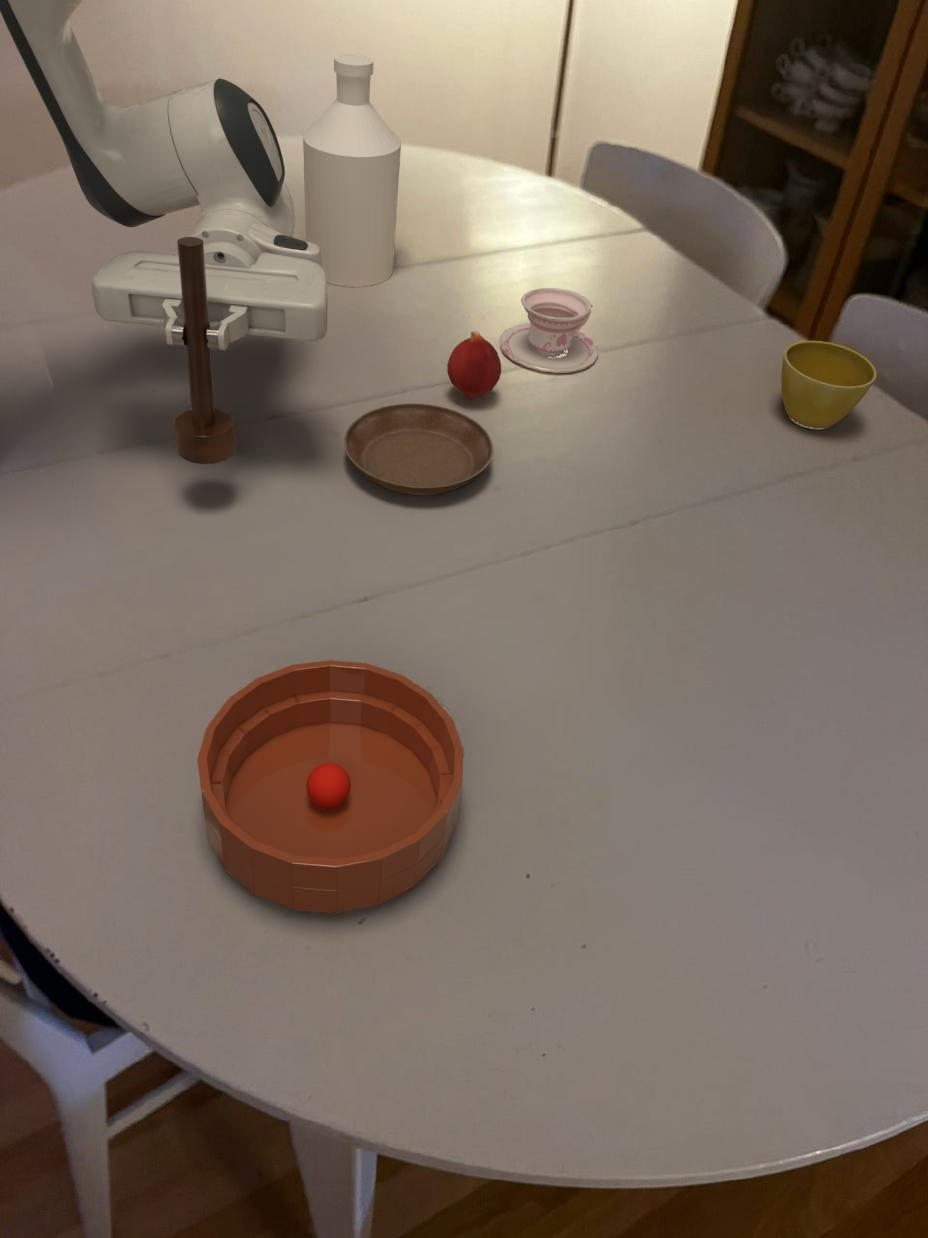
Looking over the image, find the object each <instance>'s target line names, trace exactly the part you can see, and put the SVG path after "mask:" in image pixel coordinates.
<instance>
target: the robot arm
mask: <svg viewBox="0 0 928 1238" xmlns="http://www.w3.org/2000/svg"><path fill="white" fill-rule="evenodd" d="M83 1H84V0H0V15H1V17H2V19H3V21H4V24H5V26H6V28H7V30H8V33H9V35H10V37H11V39H12V41H13V43H14V45H15V47H16V49H17V51H18V53H19V55H20V57H21V59H22V61H23V64H24V65H25V67H26V69H27V71H28V74H29V76H30V77H31V79H32V81H33V84H34V86H35V88H36V90H37V92H38V94H39V96H40V98H41V99H42V102H43V104H44V105H45V108H46V110H47V112H48V114H49V116H50V117H51V119H52V122H53V124H54V126H55V128H56V130H57V132H58V134H59V136H60V138H61V141H62V143H63V145H64V148H65V150H66V153H67V156H68V158H69V161H70V164H71V166H72V169H73V172H74V175H75V177H76V181H77V183H78V185H79V188H80V189H81V191H82V194H83V196H84V198H85V199H86V201H87V203H88V204H89V205H90V206H91V207H92V208H93V209H94V210H95V211H96V212H98V213H100V214H101V215H102V216H104V217H105V218H107V219H109V220H111V221H113V222H114V223H117V224H120V225H122V226H124V227H126V228H136V227H139V226H141V225H144V224H147V223H150V222H151V221H155V220H157V219H160V218H162V217H165V216H166V215H167V214H172V213H174V212H179V211H182V210H186V209H189V208H194V207H198V206H200V208H201V209H200V210H201V215H200V217H199V219H198V221H197V222H196V223H195V224H194V226H193V228H192V230H191V231H190V233H189V235H188V237H196V238H200V239H202V240H203V243H204V258H205V273H206V287H207V302H208V316H209V327H208V328H207V333H206V336H207V339H208V342H207V347H208V348H210V349H211V350H220V351H226V350H227V348H228V346H229V344H230V343H232V342H234V341H237V340H239V339H241V338H244V337H246V336H255V337H266V338H274V339H275V338H277V339H285V340H296V341H306V342H317V341H319V340H322V339H324V338H325V337H326V335H327V331H328V283H327V279H326V274H325V271H324V270H323V266H322V256H321V250H320V247H319V246H318V245H316V244H313V243H310V242H306V240H303V239H298V238H295V237H294V232H295V221H296V219H295V218H296V217H295V216H296V215H295V206H294V201H293V197H292V195H291V192H290V189H289V187H288V185H287V184H286V182H285V176H286V169H285V168H286V167H285V163H284V158H283V154H282V150H281V147H280V143H279V140H278V136H277V134H276V132H275V130H274V127H273V124H272V123H271V121H270V118H269V116H268V114H267V113H266V111H265V110H264V108H263V107H262V105H261V104H260V103H259V102H258V101H256V100H255V99H254V98H253V96H251V95H250V94H249V93H247V92H246V91H245V90H244V89H242V88H241V87H240V86H239V85H237V84H235V83H233V82H231V81H229V80H227V79H225V78H221V77H220V78H217V79H214V80H210V81H206V82H203V83H198V84H195V85H192V86H188V87H185V88H182V89H178V90H174V91H173V92H171V93H168V94H164V95H161V96H157V97H154V98H151V99H146V100H144V101H140V102H137V103H133V104H131V105H116V104H112V103H110V102H108V101H106V100H105V99H104V98H103V97H102V94H101V92H100V90H99V88H98V85H97V83H96V81H95V79H94V76H93V73H92V72H91V69H90V67H89V65H88V62H87V61H86V57H85V56H84V54H83V51H82V49H81V47H80V44H79V42H78V40H77V38H76V36H75V33H74V31H73V29H72V26H71V22H70V17H71V16H72V14H73V13H74V12H75V10H76V9H77V8H78V7H79V5H80V4H81V3H82V2H83ZM91 292H92V298H93V304H94V308H95V311H96V313H97V314H98V316H99V317H100V318H101V319H102V320H104V321H107V322H114V323H115V322H117V323H127V324H136V325H146V326H155V327H164V330H165V339H166V345H170V346H180V347H181V346H182V347H186V339H185V327H184V315H183V303H182V291H181V280H180V268H179V256H178V254H168V253H158V252H149V251H137V250H136V251H135V250H134V251H126V252H122V253H120V254H117V255H116V256H114V257H113V258H111V259H110V260H109V261H108V262H106V264H104V266H102V267H101V269H99V271H97V273H95V275H94V276H93V278H92V280H91Z"/></svg>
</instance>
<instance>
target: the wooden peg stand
mask: <svg viewBox="0 0 928 1238" xmlns="http://www.w3.org/2000/svg"><path fill="white" fill-rule="evenodd" d="M176 243H177V253H178V254H177V255H178V256H179V268H180V280H181V291H182V303H183V315H184V327H185V339H186V346H185V348H186V349H185V350H186V363H187V373H188V384H189V386H188V387H189V398H190V409H188V410H184V411H182V412H181V413H179V414H178V415H177V416H176V417H175V418H174V421H173V428H174V429H173V430H174V437H175V438H174V439H175V448H176V453H177V455H178V457H180V458H181V459H183V460H184V461H186V462H189V463H192V464H198V465H212V464H218V463H223V462H225V461H227V460H228V459H230V458H231V457H233V455H234V454H235V452H236V449H237V448H236V432H235V420H234V417H233V416H232V415H230V413H228V412H227V411H224V410H221V409H217V408H216V405H215V391H214V378H213V377H214V376H213V361H212V349H210V348H208V347H207V342H208V339H207V336H206V333H207V328H208V327H209V316H208V302H207V287H206V273H205V258H204V243H203V240H202V239H200V238H196V237H189V236H184V237H180V238H179V239H177V241H176Z"/></svg>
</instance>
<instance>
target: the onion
mask: <svg viewBox="0 0 928 1238" xmlns="http://www.w3.org/2000/svg"><path fill="white" fill-rule="evenodd" d="M446 369H447V370H446V372H447V376H448V378H449V381H450V383H451V384H452V386H454V388H455V389H456V390H458V392H459V393H460V394H462V395H463V396H464V398H466V399H468V400H470V401H471V400H475V399H478V398H481V397H483V396H484V395H487V394H488V393H490V392H491V391H493V390H494V389H495V386H496V385H497V384H498V383H499V380H500V378H501V374H502V363H501V359H500V355H499V353H498V351H497V350H496V348H495V347H494V346H493V344H492V343H491V342H490V341H488V340H486V339H485V338H484V337H483V336H482V335H481V333H480V332H479V331H478V330H474V331H471V333H470V337H468V338H466V339H464V340H463V341H461V342H459V344H457V345H456V346H455V347H454V348H453V350H452V351H451V353H450V355H449V358H448V360H447V364H446Z"/></svg>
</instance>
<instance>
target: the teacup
mask: <svg viewBox="0 0 928 1238" xmlns="http://www.w3.org/2000/svg"><path fill="white" fill-rule="evenodd" d="M520 303H521V305H522V306H523V308H524V311H525V312H526V313H527V319H528V320H529V322H524V323H520V324H515V325H513V326H510V327H509V328H507V329H505V330H504V331H503V332H502V333H501V335H500V336H499V348H500V349H501V351H502V353H503V354H504V355H505V356H506V357H507V358H509V359H510V360H511V361H512V362H514V363H517V364H518V365H520V366H523V367H525V368H528V369H531V370H535V371H539V372H544V373H552V374H553V373H554V374H567V373H575V372H579V371H582V370H586V369H588V368H589V367H591V366H593V365H594V363H595V362H596V360H597V359H598V356H599V352H598V351H599V350H598V347H597V345H596V344H595V342H594V341H593V340H592V339H591V338H590V337H589V336H587V335H586V334H585V333H583V332H581V331H580V330H581V329H582V328H583V327H584V326H585V324H586V323H587V322H588V320H589V318H590V316H591V313H592V311H591V310H592V308H593V306H594V305H593V304H592V303H591V301H590V300H589V298H587V297H586V296H584V295H583V294H582V293H581V294H580V293H578V292H576V291H573V290H569V289H566V288H565V289H563V288H554V287H543V288H535V289H533V290H529V291H527V292H525V293H524V294H523V295H522V297H521V299H520ZM566 349H567V350H568V353H565V352H564V350H565V351H566ZM563 353H565V354H567V355H566V356H564V357H561V358H557V357H556V356H559V355H560V354H563ZM548 357H552V358H553V359H552V358H548ZM554 357H556V358H554Z"/></svg>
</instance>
